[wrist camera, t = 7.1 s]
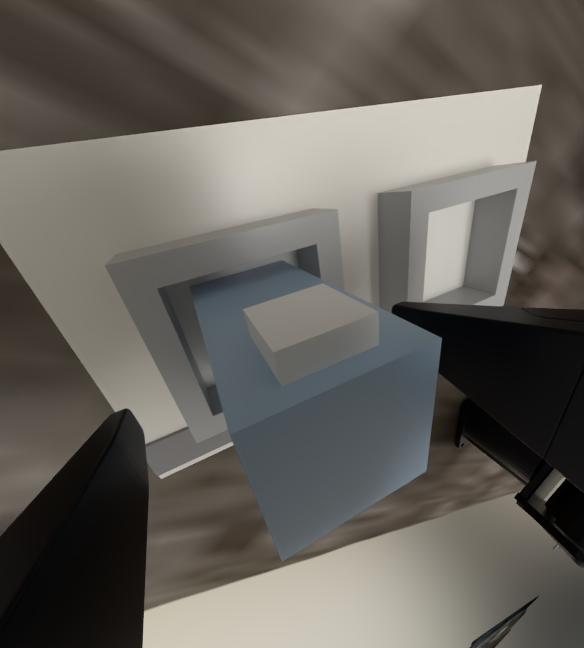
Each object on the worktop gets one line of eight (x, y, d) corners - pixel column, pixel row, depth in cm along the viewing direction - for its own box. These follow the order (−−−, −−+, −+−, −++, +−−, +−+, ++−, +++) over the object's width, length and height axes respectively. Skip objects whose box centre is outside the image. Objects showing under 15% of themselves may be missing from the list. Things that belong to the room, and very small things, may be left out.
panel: (478, 318, 21) (520, 334, 18) (161, 463, 14) (160, 518, 12) (519, 91, 14) (595, 67, 12) (-34, 162, 8) (-132, 143, 5)
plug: (296, 337, 13) (426, 470, 7) (219, 366, 12) (282, 562, 6) (279, 243, 11) (446, 303, 5) (182, 269, 10) (214, 398, 3)
